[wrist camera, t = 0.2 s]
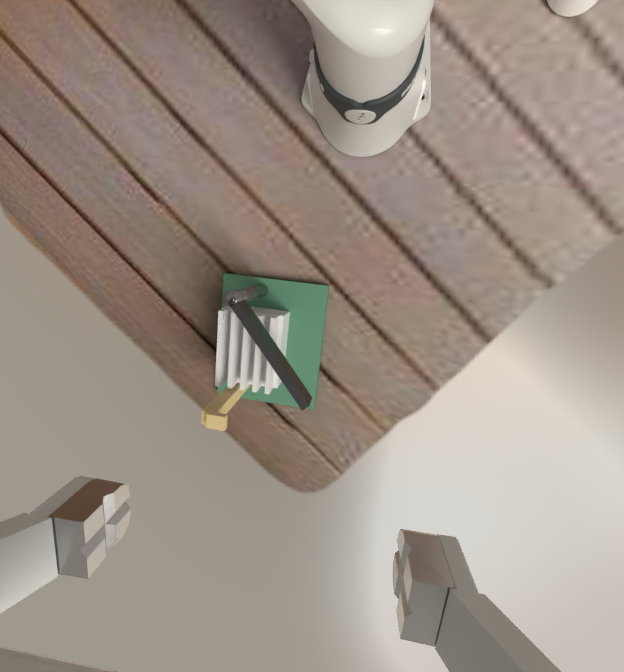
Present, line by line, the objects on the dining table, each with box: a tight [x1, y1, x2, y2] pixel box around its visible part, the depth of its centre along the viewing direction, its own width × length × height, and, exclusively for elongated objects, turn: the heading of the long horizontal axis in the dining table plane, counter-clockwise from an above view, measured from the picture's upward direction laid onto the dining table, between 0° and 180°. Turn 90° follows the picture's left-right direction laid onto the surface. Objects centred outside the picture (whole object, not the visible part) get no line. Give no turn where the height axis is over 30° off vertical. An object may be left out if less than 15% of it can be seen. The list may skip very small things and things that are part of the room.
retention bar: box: [223, 284, 312, 410], centre depth 49 cm, size 18×2×14 cm, turn 34°
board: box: [201, 273, 329, 431], centre depth 50 cm, size 22×18×17 cm
